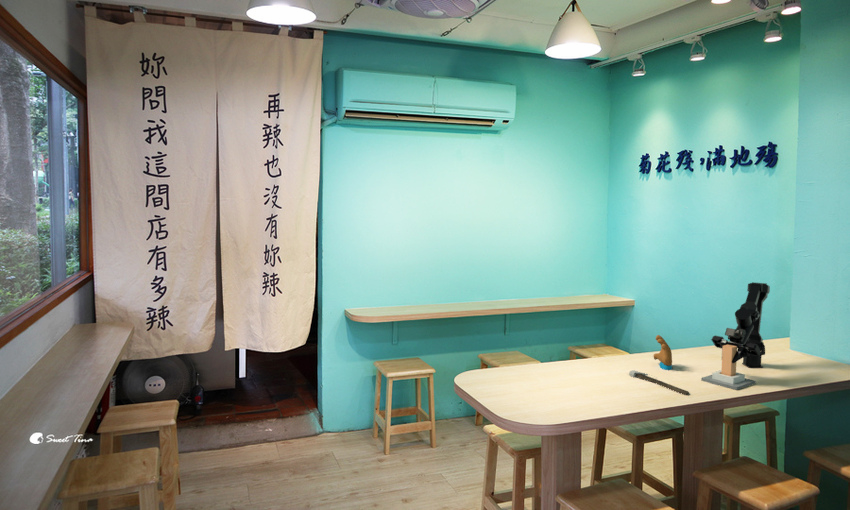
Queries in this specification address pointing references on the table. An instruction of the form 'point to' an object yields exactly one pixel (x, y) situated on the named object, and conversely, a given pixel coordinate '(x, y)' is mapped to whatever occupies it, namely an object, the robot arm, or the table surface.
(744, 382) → the housing
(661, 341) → the toy
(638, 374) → the axe
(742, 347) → the robot arm
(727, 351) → the tan square peg
